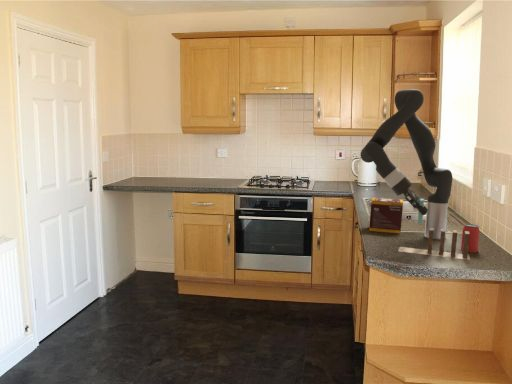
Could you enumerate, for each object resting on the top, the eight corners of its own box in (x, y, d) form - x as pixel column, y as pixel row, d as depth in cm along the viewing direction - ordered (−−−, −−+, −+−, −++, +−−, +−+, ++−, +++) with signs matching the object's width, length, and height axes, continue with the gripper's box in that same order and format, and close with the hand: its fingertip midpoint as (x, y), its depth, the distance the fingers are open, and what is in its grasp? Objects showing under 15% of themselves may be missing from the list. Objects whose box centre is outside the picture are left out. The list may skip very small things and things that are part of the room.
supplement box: (400, 233, 243) (403, 202, 241) (368, 230, 247) (371, 200, 245) (400, 229, 253) (403, 199, 251) (370, 226, 257) (372, 197, 255)
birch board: (397, 253, 205) (398, 251, 205) (399, 249, 213) (399, 246, 213) (469, 262, 196) (469, 259, 196) (468, 257, 203) (469, 254, 203)
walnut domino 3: (450, 256, 200) (453, 232, 198) (450, 253, 204) (452, 229, 203) (455, 257, 199) (457, 232, 197) (454, 254, 204) (457, 230, 202)
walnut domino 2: (438, 255, 201) (441, 231, 200) (439, 252, 206) (441, 228, 204) (443, 255, 201) (445, 231, 199) (443, 252, 205) (445, 229, 204)
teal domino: (417, 224, 203) (419, 200, 201) (418, 222, 207) (420, 198, 206) (421, 224, 202) (423, 200, 201) (422, 222, 207) (424, 198, 205)
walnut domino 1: (427, 253, 203) (429, 229, 201) (427, 250, 207) (429, 227, 206) (431, 254, 202) (433, 230, 201) (431, 251, 207) (433, 227, 205)
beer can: (469, 255, 207) (472, 227, 205) (457, 251, 213) (459, 224, 211) (480, 254, 210) (483, 226, 208) (468, 250, 215) (471, 223, 214)
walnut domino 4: (462, 258, 198) (465, 233, 196) (462, 254, 203) (464, 231, 201) (467, 258, 197) (469, 234, 196) (466, 255, 202) (469, 231, 201)
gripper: (403, 177, 198) (432, 210, 195) (406, 174, 211) (433, 204, 209) (388, 189, 200) (417, 221, 198) (392, 185, 214) (419, 215, 211)
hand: (425, 212), depth 203 cm, fingers closed on teal domino, 5 cm apart
